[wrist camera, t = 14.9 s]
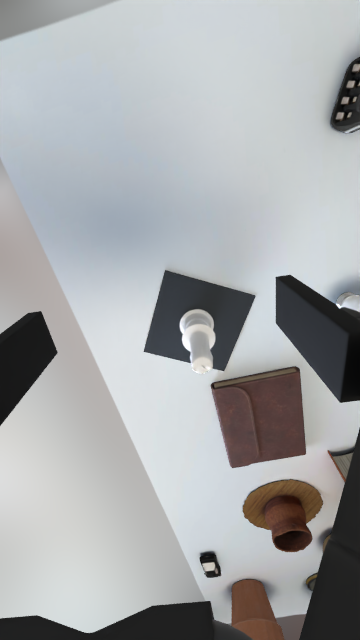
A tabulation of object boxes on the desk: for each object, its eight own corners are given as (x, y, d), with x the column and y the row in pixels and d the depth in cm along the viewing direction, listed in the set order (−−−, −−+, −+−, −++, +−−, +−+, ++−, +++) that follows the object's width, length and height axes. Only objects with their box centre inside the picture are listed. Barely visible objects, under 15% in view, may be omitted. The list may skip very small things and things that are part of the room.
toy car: (221, 570, 71) (223, 584, 69) (207, 572, 72) (207, 585, 69) (214, 550, 67) (215, 563, 65) (198, 552, 68) (199, 565, 65)
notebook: (297, 365, 45) (302, 372, 43) (303, 447, 53) (308, 456, 51) (210, 383, 46) (211, 390, 44) (229, 460, 54) (230, 468, 52)
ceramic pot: (227, 501, 59) (232, 537, 53) (298, 467, 55) (313, 502, 48) (268, 538, 65) (277, 574, 59) (335, 510, 61) (353, 546, 54)
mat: (144, 351, 44) (143, 351, 44) (165, 270, 38) (165, 270, 38) (223, 370, 45) (224, 371, 45) (255, 295, 40) (255, 295, 40)
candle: (217, 312, 41) (231, 352, 30) (209, 342, 43) (219, 390, 32) (183, 306, 40) (184, 344, 29) (176, 336, 42) (175, 383, 31)
